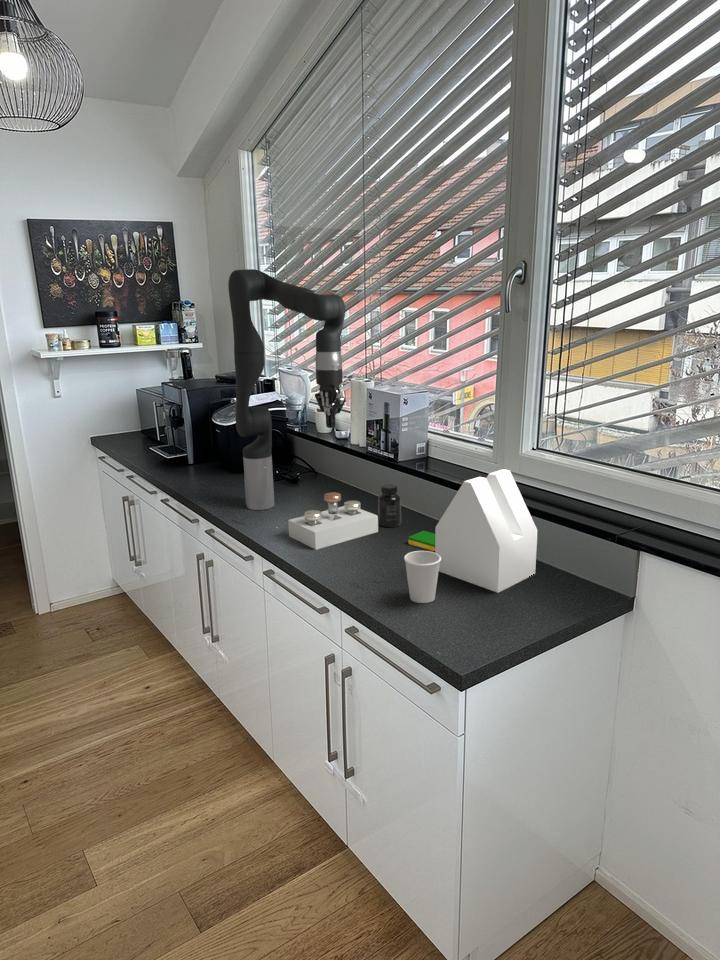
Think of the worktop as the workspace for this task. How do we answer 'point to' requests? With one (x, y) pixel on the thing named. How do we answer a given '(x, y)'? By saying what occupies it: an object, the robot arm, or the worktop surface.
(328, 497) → the knob centre
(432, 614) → the worktop surface
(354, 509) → the knob
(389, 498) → the supplement bottle
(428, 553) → the dixie cup
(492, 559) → the white house-shaped block
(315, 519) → the knob
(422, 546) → the dish sponge
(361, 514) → the mount
